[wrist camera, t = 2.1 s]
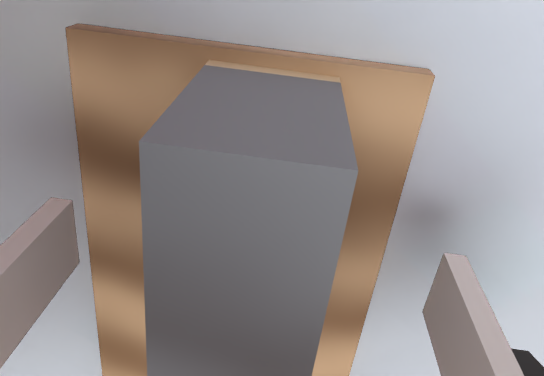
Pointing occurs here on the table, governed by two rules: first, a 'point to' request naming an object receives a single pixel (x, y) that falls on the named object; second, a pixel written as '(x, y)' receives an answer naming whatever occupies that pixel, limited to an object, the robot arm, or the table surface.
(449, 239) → the table surface
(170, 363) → the block
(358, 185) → the oak board
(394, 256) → the table surface
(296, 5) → the table surface
